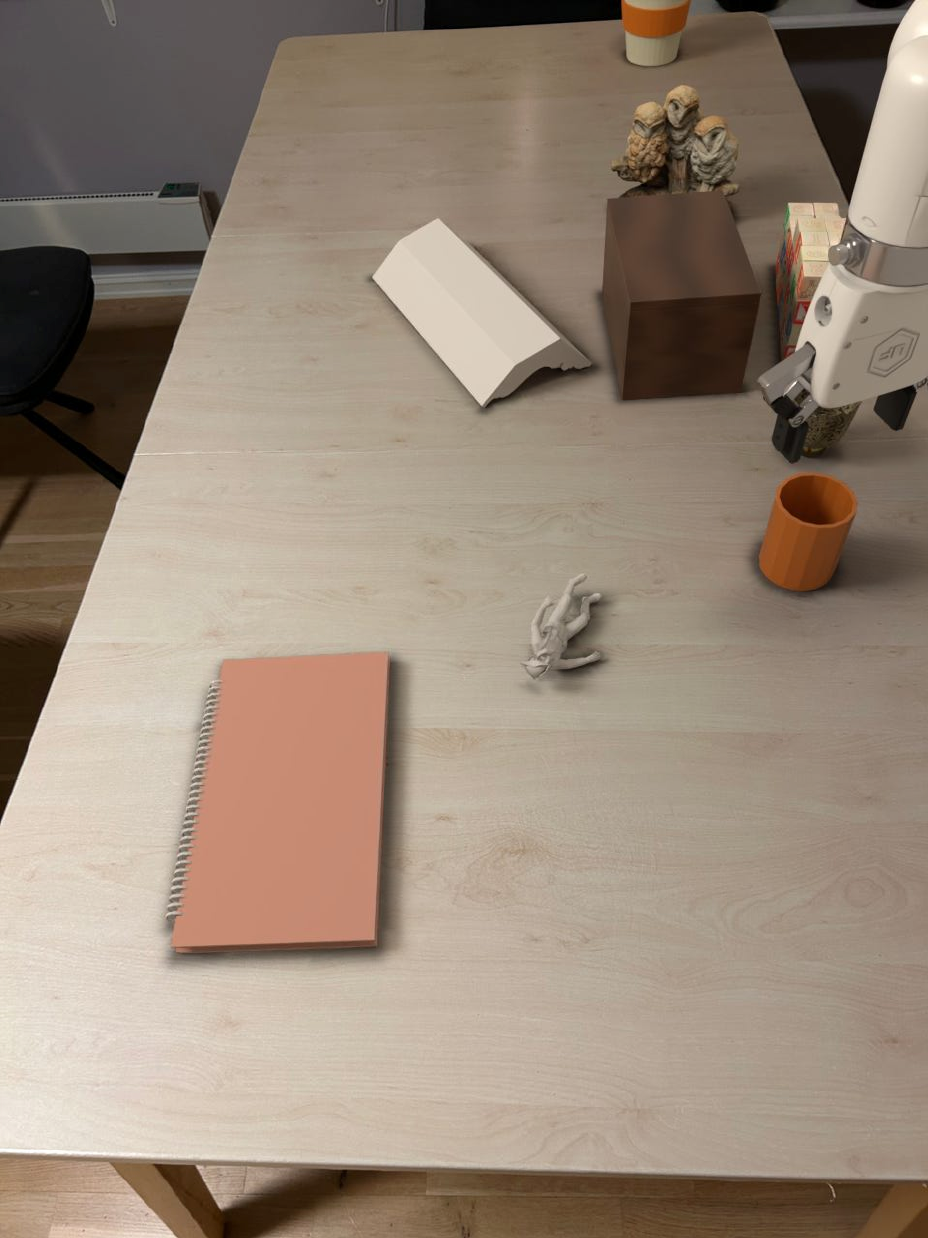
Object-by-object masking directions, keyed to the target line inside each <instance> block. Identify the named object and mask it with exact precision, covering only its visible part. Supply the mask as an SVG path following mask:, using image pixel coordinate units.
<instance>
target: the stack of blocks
mask: <svg viewBox="0 0 928 1238" xmlns="http://www.w3.org/2000/svg"><path fill="white" fill-rule="evenodd" d="M784 214H785V215H784V219H783V224H782V225H783V226H782V227H783V229H782V232H781V237H780V242H779V248H778V249H779V250H778V253H777V258H776V263H775V288H776V303H777V307H778V308H777V311H778V321H779V347H780V350H779V351H780V362H781V361H783V360H784V359H786V358H787V357H789V356H790V355H791V354H793V353H794V352H795V349H796V346H797V342H798V339H799V335H800V332H801V329H802V326H803V323H804V320H805V317H806V314H807V312H808V309H809V306H810V304H811V301H812V299H813V296H814V294H815V292H816V289H817V287H818V285H819V283H820V280H821V278H822V276H823V274H824V272H825V270H826V268H827V266H828V264H829V259H828V251H829V248H830V247H831V246H834V245H837V244H839V243H840V240H841V236H842V232H843V229H844V225H845V221H846V218H847V217H842V216H840V209H839V204H838V202H837V203H836V202H813V203H812V202H787V206H786V209H785V213H784Z"/></svg>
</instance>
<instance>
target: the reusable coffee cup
mask: <svg viewBox="0 0 928 1238" xmlns="http://www.w3.org/2000/svg"><path fill="white" fill-rule="evenodd" d="M691 2H692V0H621V19H622V28H623V30H624V31H625V50H626V59H627V60H628V61H629V62H630V63H632V64H634V65H638V66H643V67H659V66H665V65H667V64H669V63H672V62H673V61H674V60H676V58H677V55H678V50H679V47H680V42H681V37H682V33H683V30H684V29H685V27H686V25H687V22H688V21H687V20H688V16H689V11H690V7H691Z"/></svg>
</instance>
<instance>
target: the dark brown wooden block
mask: <svg viewBox="0 0 928 1238" xmlns="http://www.w3.org/2000/svg"><path fill="white" fill-rule="evenodd" d="M726 198H727V196H726V197H725V195H724V192H723V190H719V191H706V192H692V193H678V194H665V195H651V196H637V197H623V198H619V197H610V198H607V201H606V202H607V203H606V217H605V232H604V233H605V236H604V251H603V252H604V253H603V269H602V270H603V271H602V285H601V286H602V288H601V296H602V302H603V307H604V312H605V317H606V322H607V327H608V333H609V338H610V343H611V348H612V354H613V359H614V364H615V369H616V374H617V380H618V385H619V390H620V397H621V400H622V401H627V400H629V401H630V400H643V399H656V398H657V399H658V398H659V399H660V398H673V397H674V398H675V397H688V396H689V397H690V396H704V395H705V396H706V395H721V394H722V395H723V394H734V393H735V394H736V393H737V394H738V393H742V391H743V386H744V380H745V376H746V371H747V366H748V362H749V357H750V351H751V347H752V343H753V337H754V332H755V329H756V323H757V318H758V313H759V307H760V302H761V299H762V294H763V293H762V289H761V287H760V285H759V282H758V280H757V276H756V275H755V272H754V269H753V266H752V264H751V261H750V258H749V255H748V253H747V251H746V248H745V245H744V242H743V240H742V237H741V235H740V232H739V230H738V227H737V224H736V221H735V219H734V216H732V213H731V211H730V208H729V205H728V203H727V200H728V199H727V200H726Z"/></svg>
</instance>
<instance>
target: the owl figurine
mask: <svg viewBox="0 0 928 1238" xmlns="http://www.w3.org/2000/svg"><path fill="white" fill-rule="evenodd" d="M700 103H701V99H700V96H699V94H698V92H697V90H696V89H695V88H694V87H691V86H689V85H686V84H682V85H678V86H676V87H675V88H674V89H672V90H670V91H669V92H668V93H667V95H666V97H665V101H664V105H661V104H659V103H657V102H655V101H652V100H651V101H649V102H644V103H643V104H640V105H638V106H637V107H636V109H635V112H634V115H633V121H632V123H631V127H632V129H631V130H630V135H629V136H628V137H627V139H626V143H627V145H628V146H627V148H626V150H625V152H626V154H625V155H623V156H621V157H618V159H612V160H610V161H611V167H610V170H611V171H612V172H614V173H615V172H616V173H617V177H618V178H620V179H621V180H622V181H625V182H635V183H636V182H637V183H640V184H638V185H636V186H633V187H631V188H629V189H628V190H626V191H625V192H623V193H622V194H621V195H619V197H618V198H623V197H637V196H651V195H665V194H678V193H692V192H706V191H719V190H723V192H724V195H725V197H726V200H727V203H728V205H729V208H730V211H731V213H732V216H733V217H735V208H734V205H733V204H732V202H731V201H730V200H728V198H727V197H730V196H731V197H732V196H734V195H735V194H737V193H739V191H740V185H739V184H738V183H736V182H734V181H732V180H730V177H732V175H733V173H734V172H735V170H736V168H737V165H738V164H737V160H738V156H739V149H738V148H739V146H740V141H739V139H738V138H736V137H735V135H733V133H731V129H730V127H728V123H727V120H725V118H723V117H722V116H720V115H709V116H706V117H705V115H704V112H703V108H702V106H701V104H700Z"/></svg>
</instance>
